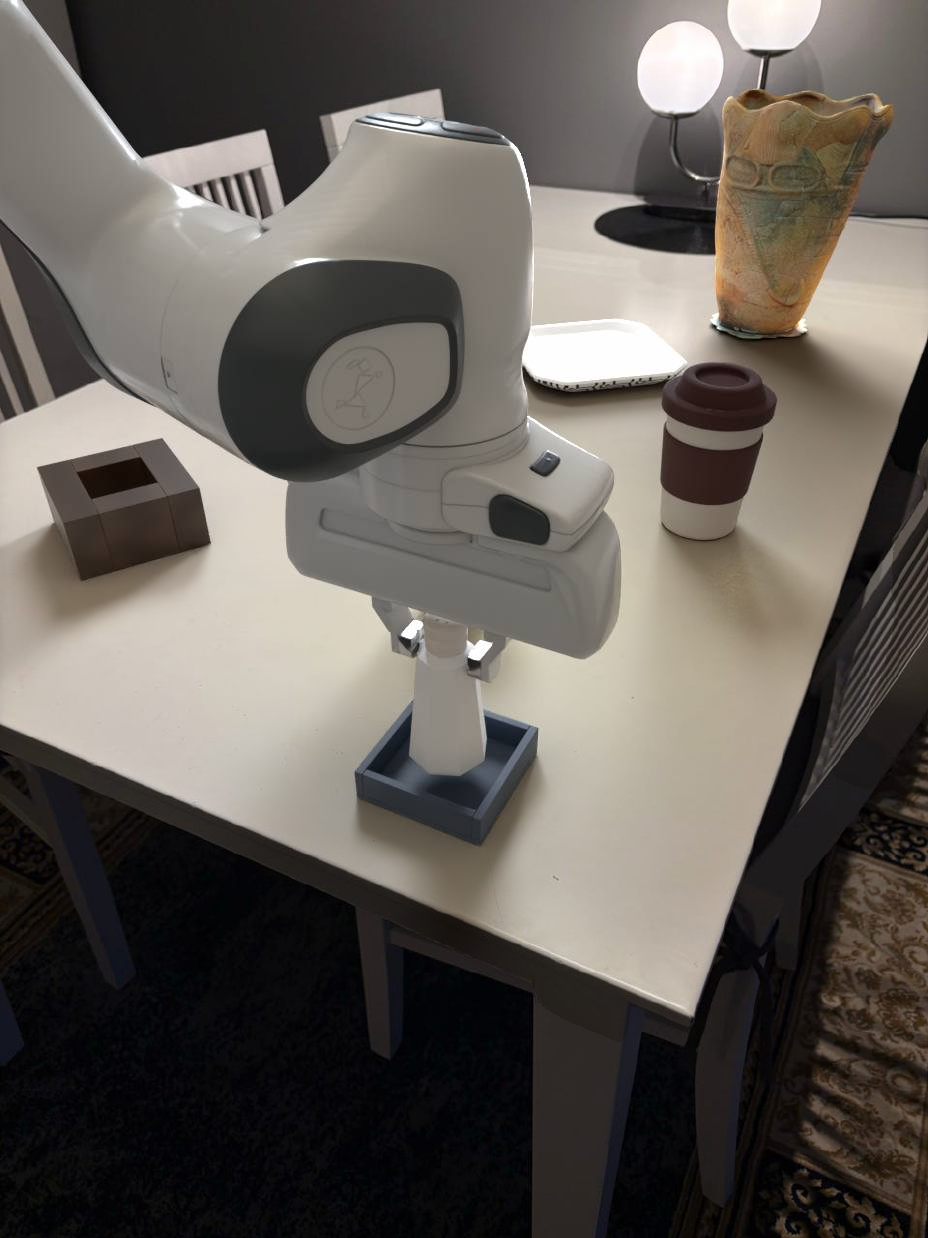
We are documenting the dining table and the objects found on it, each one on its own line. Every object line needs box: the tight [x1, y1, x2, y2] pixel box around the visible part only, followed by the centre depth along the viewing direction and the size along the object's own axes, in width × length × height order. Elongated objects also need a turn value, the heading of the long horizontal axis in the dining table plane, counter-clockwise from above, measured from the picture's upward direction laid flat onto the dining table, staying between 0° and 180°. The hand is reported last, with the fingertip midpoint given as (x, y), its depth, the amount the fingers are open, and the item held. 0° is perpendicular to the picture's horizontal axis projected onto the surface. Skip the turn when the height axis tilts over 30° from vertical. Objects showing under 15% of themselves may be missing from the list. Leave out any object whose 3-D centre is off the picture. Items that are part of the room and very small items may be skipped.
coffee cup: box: [659, 361, 778, 541], centre depth 84 cm, size 10×10×15 cm
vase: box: [709, 88, 895, 339], centre depth 124 cm, size 21×20×30 cm
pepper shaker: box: [409, 613, 487, 776], centre depth 58 cm, size 5×5×11 cm
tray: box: [354, 699, 540, 847], centre depth 62 cm, size 9×9×2 cm
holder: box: [36, 437, 212, 581], centre depth 86 cm, size 12×12×6 cm
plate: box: [522, 318, 688, 393], centre depth 121 cm, size 21×21×2 cm
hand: (446, 662), depth 56 cm, fingers closed on pepper shaker, 4 cm apart
